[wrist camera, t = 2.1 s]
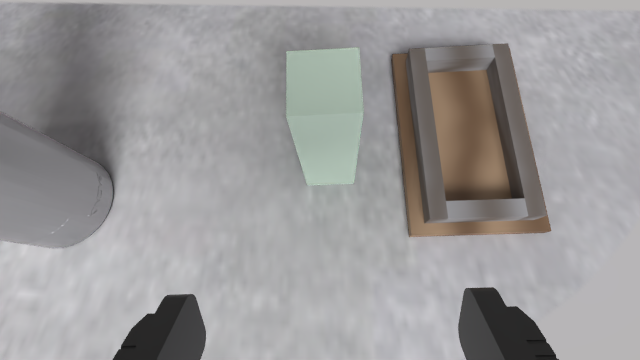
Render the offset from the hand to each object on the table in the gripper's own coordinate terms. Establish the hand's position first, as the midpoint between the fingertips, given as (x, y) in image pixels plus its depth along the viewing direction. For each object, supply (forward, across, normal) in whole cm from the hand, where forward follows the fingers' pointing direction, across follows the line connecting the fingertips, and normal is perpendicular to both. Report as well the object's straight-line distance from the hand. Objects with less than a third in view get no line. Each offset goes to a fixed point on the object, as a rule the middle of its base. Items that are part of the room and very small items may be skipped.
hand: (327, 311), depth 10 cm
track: (+25, -13, +4) cm, 28 cm away
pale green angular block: (+24, 0, +6) cm, 24 cm away
